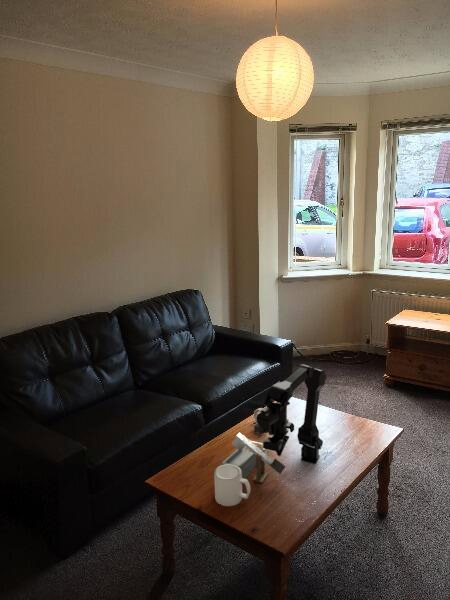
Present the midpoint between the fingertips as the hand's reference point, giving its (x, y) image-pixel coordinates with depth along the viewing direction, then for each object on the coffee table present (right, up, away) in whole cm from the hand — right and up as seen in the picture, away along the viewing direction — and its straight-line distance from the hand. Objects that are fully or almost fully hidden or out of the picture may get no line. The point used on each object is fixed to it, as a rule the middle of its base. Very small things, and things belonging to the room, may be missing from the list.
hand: (279, 455), depth 183 cm
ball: (-8, -4, +24) cm, 26 cm away
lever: (-10, -4, +6) cm, 12 cm away
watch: (-3, -3, +43) cm, 43 cm away
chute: (-14, -10, +11) cm, 21 cm away
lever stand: (-7, -11, +6) cm, 14 cm away
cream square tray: (-8, -7, +23) cm, 25 cm away
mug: (-18, -14, -6) cm, 24 cm away
